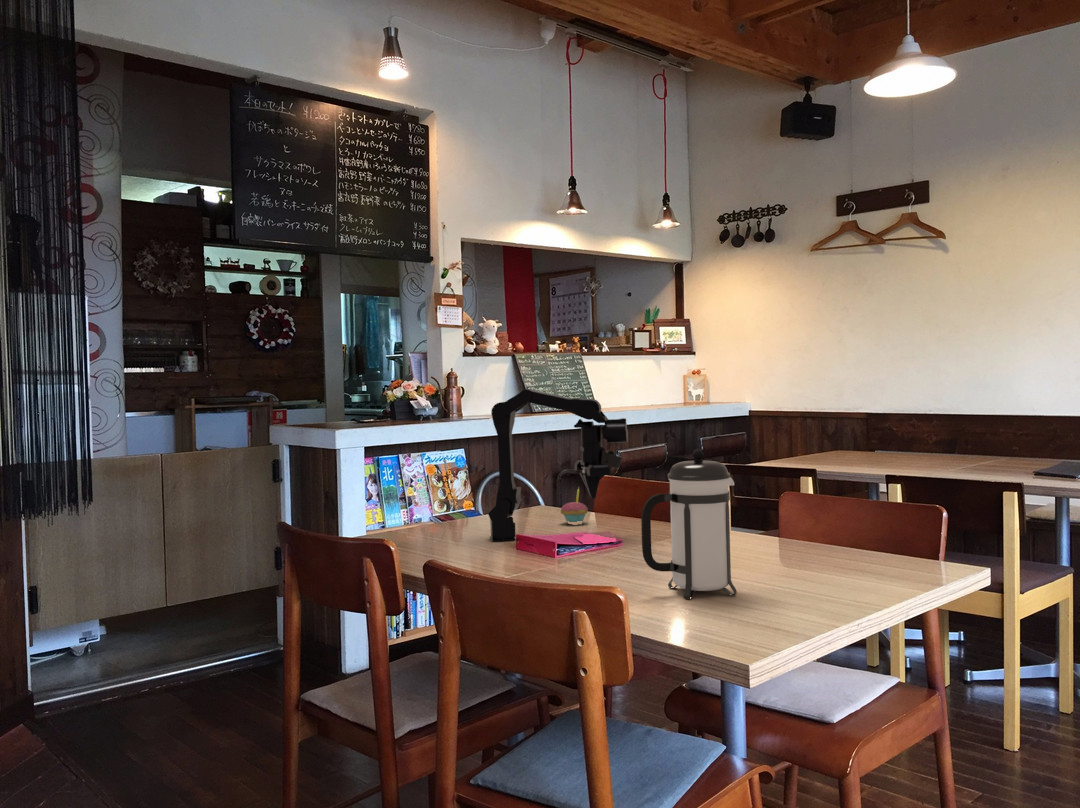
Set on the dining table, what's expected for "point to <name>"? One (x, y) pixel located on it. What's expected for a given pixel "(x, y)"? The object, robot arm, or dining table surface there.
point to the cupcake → (574, 510)
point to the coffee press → (695, 526)
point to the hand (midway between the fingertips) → (593, 498)
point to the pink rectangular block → (604, 534)
